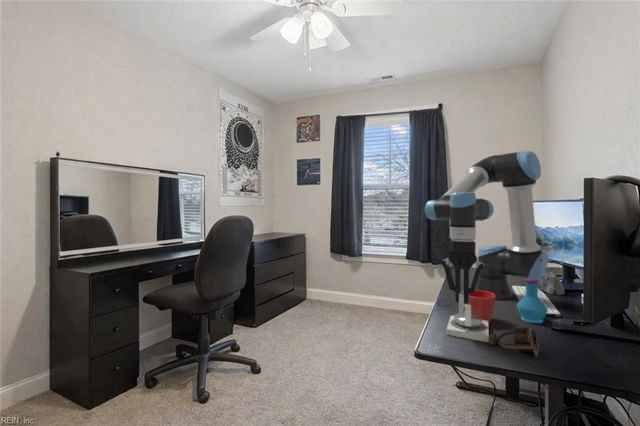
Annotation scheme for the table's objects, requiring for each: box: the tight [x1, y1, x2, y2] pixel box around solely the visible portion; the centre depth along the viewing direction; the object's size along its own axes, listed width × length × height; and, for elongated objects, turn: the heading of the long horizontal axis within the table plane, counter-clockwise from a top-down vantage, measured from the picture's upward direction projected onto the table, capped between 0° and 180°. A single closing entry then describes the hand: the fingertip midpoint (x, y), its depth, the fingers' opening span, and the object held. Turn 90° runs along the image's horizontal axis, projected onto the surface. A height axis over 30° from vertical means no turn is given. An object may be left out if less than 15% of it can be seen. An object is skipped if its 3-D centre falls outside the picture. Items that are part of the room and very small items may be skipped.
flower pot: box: [462, 290, 496, 323], centre depth 111 cm, size 11×11×10 cm
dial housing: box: [446, 315, 490, 343], centre depth 102 cm, size 14×12×2 cm
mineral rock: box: [537, 271, 565, 296], centre depth 146 cm, size 13×11×10 cm
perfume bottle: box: [516, 278, 548, 324], centre depth 110 cm, size 9×9×15 cm
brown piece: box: [488, 327, 540, 358], centre depth 88 cm, size 7×13×10 cm
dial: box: [453, 304, 482, 328], centre depth 100 cm, size 12×8×7 cm
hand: (461, 312), depth 98 cm, fingers closed
